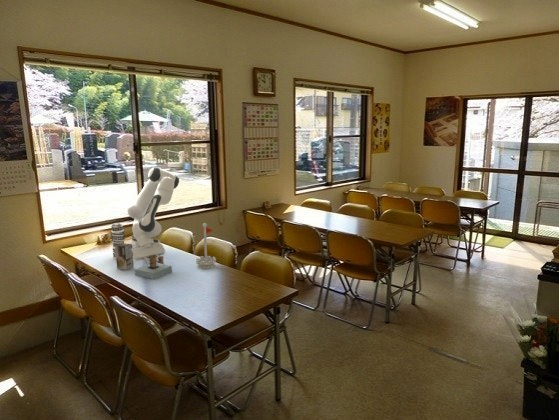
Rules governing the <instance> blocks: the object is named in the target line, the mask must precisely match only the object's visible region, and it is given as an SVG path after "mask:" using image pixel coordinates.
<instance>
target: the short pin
mask: <svg viewBox="0 0 559 420" xmlns="http://www.w3.org/2000/svg"><path fill="white" fill-rule="evenodd" d="M158 260H159V261H158V262H156V263H161V264H164V256H163V255H160V256H158Z"/></svg>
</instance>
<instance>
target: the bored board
mask: <svg viewBox="0 0 559 420" xmlns="http://www.w3.org/2000/svg"><path fill="white" fill-rule="evenodd" d="M156 264H157V268H156V269H150V264H148V263H147V264H144V265H142V266H139V267H137V268H135V269H134V273H135V274H134V275H135V276H137V277H141V278H146V279H151V280H156V279H158V278H160V277H162V276H165V275H168V274H170V273H172V272H173V266H172V265H170V264H165V263H163V264H161V263H157V262H156Z"/></svg>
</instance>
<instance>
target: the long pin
mask: <svg viewBox="0 0 559 420" xmlns="http://www.w3.org/2000/svg"><path fill="white" fill-rule="evenodd" d="M148 259H149V260H150V262H151V264H150V269H156V268H157V264H156V263H157V262H156V255H154V254H153V255H149V258H148Z"/></svg>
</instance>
